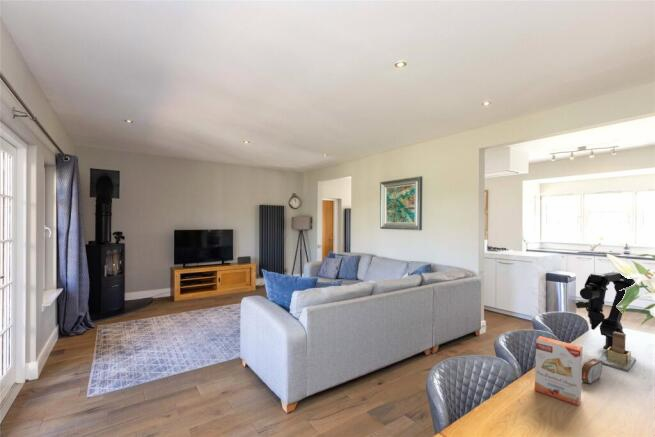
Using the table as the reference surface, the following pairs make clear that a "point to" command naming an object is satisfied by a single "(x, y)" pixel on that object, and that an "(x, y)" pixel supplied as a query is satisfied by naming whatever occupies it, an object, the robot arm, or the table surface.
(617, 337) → the brown square block
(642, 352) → the table surface
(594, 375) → the tin
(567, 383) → the cracker box
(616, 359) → the base plate
